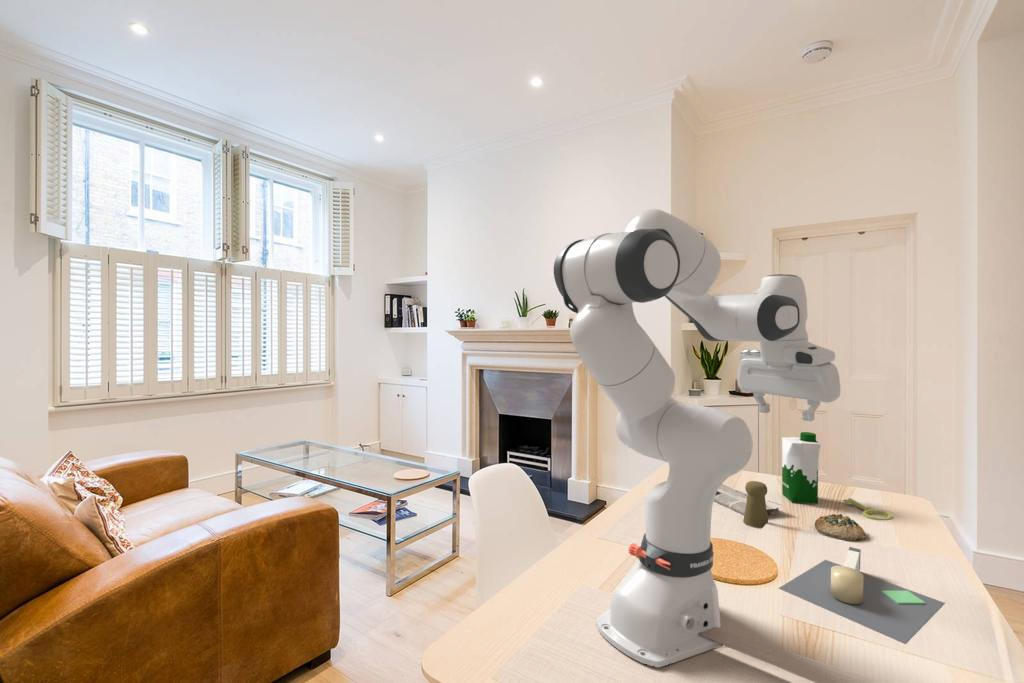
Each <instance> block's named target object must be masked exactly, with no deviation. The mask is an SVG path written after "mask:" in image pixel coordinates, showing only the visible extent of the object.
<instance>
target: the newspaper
mask: <svg viewBox="0 0 1024 683" xmlns="http://www.w3.org/2000/svg"><path fill="white" fill-rule="evenodd" d="M747 495H748V493H747V492H746V491H743V490H741V489H738V488H735V487H733V486H730V485H728V484H726V483H724V482H723V483H722V484H721V485H720V487H719V488H718V490H717V492H716V495H715V497H714V500H713V503H715V504H719V505H721V506H722V507H725V508H726V509H729V510H731V511H733V512H736V513H737V514H739V513H740V515H741V516H744V513H745V507H746V501H747ZM765 501H766V509H767V513H769V514H773V515H777V513H778V512H779V508H782V507H783V506H784V505H785V503H782V502H779V501H775V500H773V499H769V498H767V497H765Z"/></svg>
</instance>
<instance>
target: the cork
mask: <svg viewBox="0 0 1024 683" xmlns="http://www.w3.org/2000/svg"><path fill="white" fill-rule="evenodd" d="M745 492H747V493H748V495H747V501H746V507H745V513H744V515H743V519H742V522H743V524H745V525H747V526H749V527H752V528H754V529H755V528H757V529H763V528H764V527H765V526H766V524H767V523H769V519H768V518H769V517H768V512H767V509H766V501H765V498H766V495H767V494H768V487H767V484H766V483H764V482H761V481H757V480H750V481H747V482H746V483H745Z"/></svg>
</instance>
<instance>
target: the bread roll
mask: <svg viewBox="0 0 1024 683" xmlns="http://www.w3.org/2000/svg"><path fill="white" fill-rule="evenodd" d="M814 527H815V529H816V530H817V532H818V533H820V534H821V535H823V536H825V537H828V538H830V539H836V540H841V541H857V540H861V539H862V540H863V539H865V538H866V537H867V533H866V532H865V531H864V529H863V527H862V526H861V525H860V524H858V522H856V521H855V520H854V519H851V517H850V516H848V515H846V516H843V514H842V513H839V514H835V513H832V514H828V515H821V516H820V517H819V518H817V519H815V521H814Z"/></svg>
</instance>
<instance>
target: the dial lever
mask: <svg viewBox="0 0 1024 683" xmlns="http://www.w3.org/2000/svg"><path fill="white" fill-rule="evenodd" d="M861 551H862V550H861V549H860V548H857V547H856V548H855V547H852V546H849V548H848V552H847V555H846V558H845V561H844V563H843V565H842V566H833V567H832V568H831V595H832V596H833V597H835V598H836V599H838V600H840V601H843V602H846V603H850V604H860V603H862V602H863V577H864V576H863V574H862V573H863V572H861V557H862V556H861V554H862V553H861Z"/></svg>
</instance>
